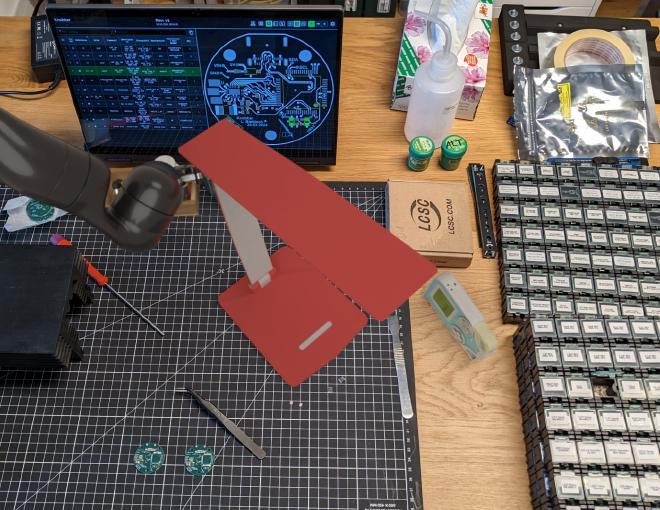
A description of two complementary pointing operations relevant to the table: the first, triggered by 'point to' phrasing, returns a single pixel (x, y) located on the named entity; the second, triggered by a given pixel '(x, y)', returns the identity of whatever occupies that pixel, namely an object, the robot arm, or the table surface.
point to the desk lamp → (300, 254)
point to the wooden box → (185, 209)
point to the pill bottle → (172, 163)
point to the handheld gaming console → (461, 316)
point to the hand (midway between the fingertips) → (162, 175)
